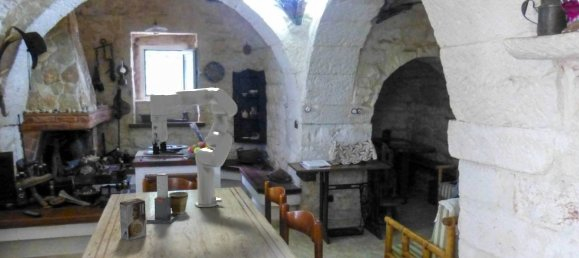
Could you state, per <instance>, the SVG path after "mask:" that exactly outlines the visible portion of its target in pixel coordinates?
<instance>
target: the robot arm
mask: <svg viewBox="0 0 579 258" xmlns="http://www.w3.org/2000/svg"><path fill="white" fill-rule="evenodd" d="M149 102H150V103H149V105H150V122H151V143H152V146H151V147H152V155H156V156H159V155H160V152H168V151H167V144H168V143H167V142H168V139H169V135H168V134H169V133H168V125H167V124H168V123H167V122H168V121H167V120H168V119H167V108H171V109H175V108H178V107H180V106H185V107H186V106H188V107H190V106H201V105H208V104H211V106H210V111H211V113H212V118H213V123H212V125H211V127H210V130H209V132H208V134H207V136H206V138H205V145H206V146H207V147H209V148H205V147H204V148H200V149H199V150H197V151H196V153H195V157H194V158H195V165H196V170H197V174H196V175H197V200H196V201H195V203H194V206H195V207H199V208H211V207H213V208H214V207H216V206H218V205H219V203H223V198H221V197H220V198H218V197H217V195H216V174H215V173H216V172H215V171H216V170H215V168H220V167H222V166H223V165H224V163H225V161H226V159H227V157H228V155H229V153H230V152H231V149H232V145H233V136H232V135H231V134H229V133H228V132H227V130H228V127H229V125H228V124H229V123H228V119H227V117H234V116H235V115H236V114H237V113H238V104H236V102H235V100H234V99H232V97H231V96H230V95H229V94H228V93H227V92H226V91H225V90H223V89H222V88H219V87H216V88H215V87H206V88H195V89H187V90H186V89H185V90H177V91H165V92H160V93H152V94H150V95H149Z"/></svg>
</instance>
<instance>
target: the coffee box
mask: <svg viewBox="0 0 579 258" xmlns="http://www.w3.org/2000/svg"><path fill="white" fill-rule="evenodd" d="M146 213H147V212H146V200H144V199H141V198H133V199H129V200H128V199H127V200H124V201H120V202H119V218H120V224H119V225H120V238H121V239H122V240H125V241H127V242H130V241H133V240H137V239H139V238H142V237H146V236H147V223H146V220H147V218H146V217H147V216H146V215H147V214H146Z"/></svg>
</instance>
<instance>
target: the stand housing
mask: <svg viewBox="0 0 579 258" xmlns="http://www.w3.org/2000/svg"><path fill="white" fill-rule="evenodd" d="M179 217H180V214H174V213H172V210H171V196H169V195H168V197H167V198H157V196H156V197H154V213H153V214H152V215H151V216H149V217H148V218H146V224H148V223H149V224H167V225H171V224H172V223H173V222H174V221H175V220H177V219H178V218H179Z"/></svg>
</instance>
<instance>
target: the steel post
mask: <svg viewBox="0 0 579 258" xmlns="http://www.w3.org/2000/svg"><path fill="white" fill-rule="evenodd" d="M168 178H169V175H168V173H167V172H166V173H164V172H163V173H162V172H160V173H157V174H156V197H157V198H167V197H168V196H169V181H168V180H169V179H168Z"/></svg>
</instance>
